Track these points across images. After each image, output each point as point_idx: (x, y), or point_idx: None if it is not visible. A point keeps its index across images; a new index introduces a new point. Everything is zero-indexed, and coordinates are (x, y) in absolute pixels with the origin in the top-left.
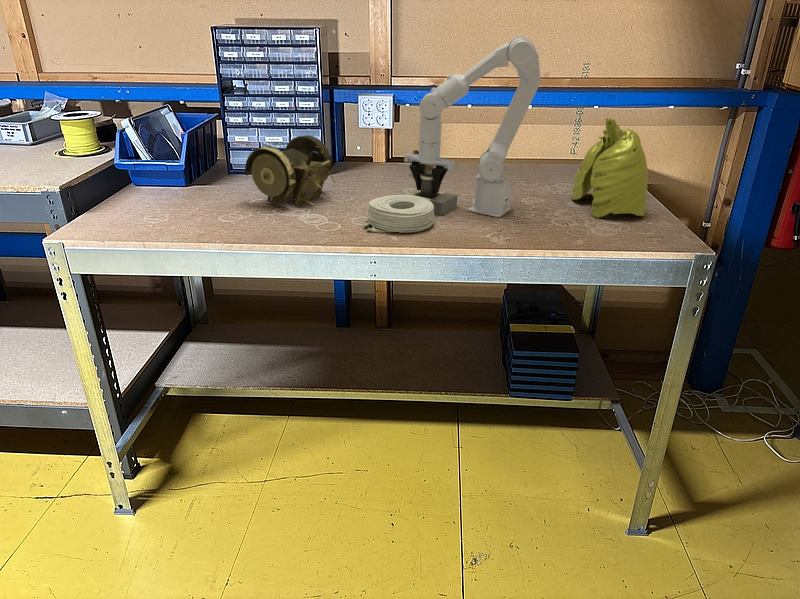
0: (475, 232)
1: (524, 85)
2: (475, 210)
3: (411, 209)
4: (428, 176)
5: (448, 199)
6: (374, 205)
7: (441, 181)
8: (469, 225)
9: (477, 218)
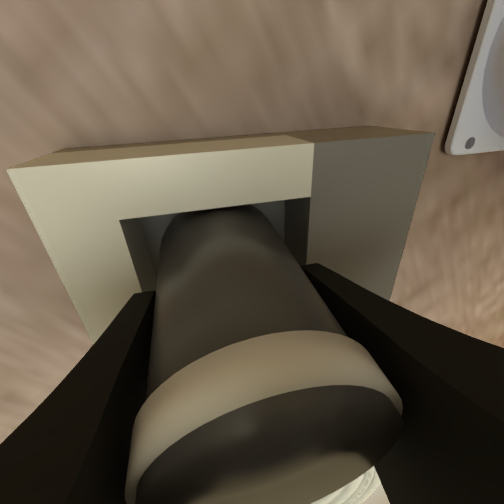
0: (483, 320)
1: None
2: (491, 142)
3: (342, 500)
4: (321, 495)
5: (395, 266)
6: None
7: (400, 313)
8: (462, 291)
9: (489, 210)
